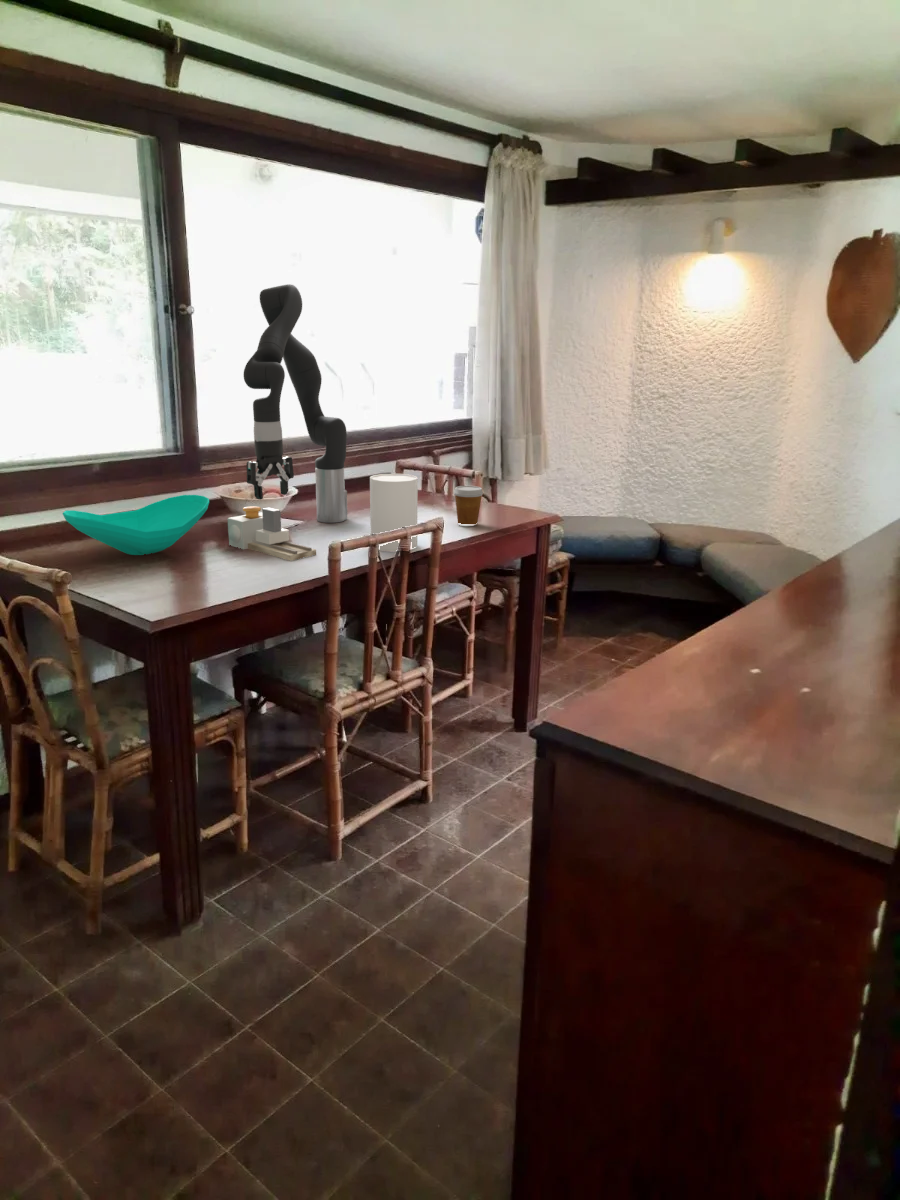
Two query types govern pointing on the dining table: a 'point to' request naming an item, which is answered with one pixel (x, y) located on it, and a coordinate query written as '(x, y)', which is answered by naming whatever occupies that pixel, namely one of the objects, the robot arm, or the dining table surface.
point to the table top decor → (142, 524)
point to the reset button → (252, 512)
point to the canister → (393, 504)
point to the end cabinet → (243, 530)
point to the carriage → (272, 528)
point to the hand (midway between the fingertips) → (271, 496)
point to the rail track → (283, 549)
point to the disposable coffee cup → (468, 503)
